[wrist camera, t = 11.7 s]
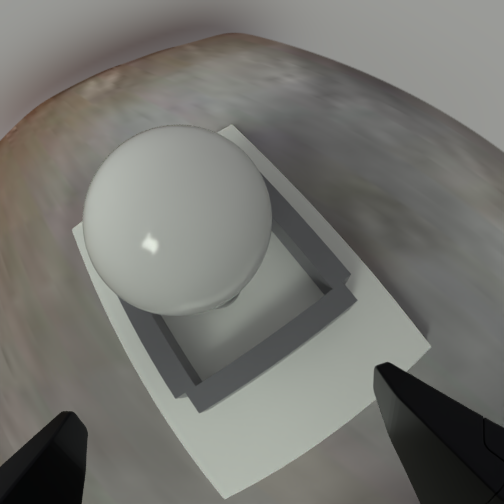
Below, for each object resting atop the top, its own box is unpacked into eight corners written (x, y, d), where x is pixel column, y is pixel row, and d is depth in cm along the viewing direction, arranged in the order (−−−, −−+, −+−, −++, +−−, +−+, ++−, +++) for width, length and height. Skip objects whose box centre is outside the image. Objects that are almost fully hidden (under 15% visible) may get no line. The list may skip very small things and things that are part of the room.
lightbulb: (188, 226, 19) (112, 85, 9) (289, 250, 18) (292, 94, 8) (150, 324, 17) (12, 244, 7) (257, 360, 16) (214, 319, 6)
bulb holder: (424, 348, 16) (447, 342, 13) (227, 493, 14) (217, 512, 11) (233, 133, 23) (228, 104, 21) (78, 235, 21) (56, 216, 19)
